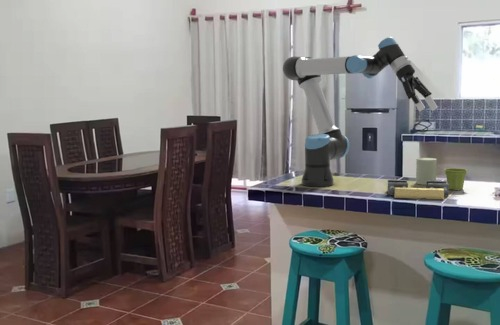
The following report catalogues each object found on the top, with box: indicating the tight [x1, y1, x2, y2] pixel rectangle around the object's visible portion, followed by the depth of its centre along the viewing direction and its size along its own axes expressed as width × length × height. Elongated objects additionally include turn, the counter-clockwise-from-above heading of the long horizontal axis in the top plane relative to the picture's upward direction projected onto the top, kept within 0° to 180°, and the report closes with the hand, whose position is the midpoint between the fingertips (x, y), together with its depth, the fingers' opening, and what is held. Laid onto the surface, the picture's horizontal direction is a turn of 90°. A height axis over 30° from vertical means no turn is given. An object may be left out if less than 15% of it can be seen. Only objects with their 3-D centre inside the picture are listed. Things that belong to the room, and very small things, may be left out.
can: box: [415, 157, 438, 185], centre depth 240 cm, size 9×9×12 cm
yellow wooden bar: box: [393, 187, 445, 200], centre depth 208 cm, size 19×4×4 cm, turn 76°
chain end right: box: [425, 180, 450, 197], centre depth 213 cm, size 8×8×5 cm
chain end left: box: [387, 179, 409, 196], centre depth 217 cm, size 8×8×5 cm
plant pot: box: [443, 167, 468, 191], centre depth 224 cm, size 9×9×9 cm
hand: (428, 109), depth 215 cm, fingers open, 13 cm apart
